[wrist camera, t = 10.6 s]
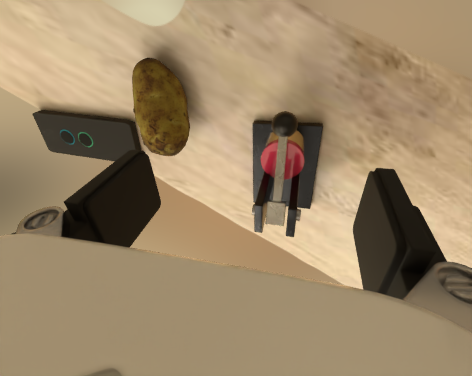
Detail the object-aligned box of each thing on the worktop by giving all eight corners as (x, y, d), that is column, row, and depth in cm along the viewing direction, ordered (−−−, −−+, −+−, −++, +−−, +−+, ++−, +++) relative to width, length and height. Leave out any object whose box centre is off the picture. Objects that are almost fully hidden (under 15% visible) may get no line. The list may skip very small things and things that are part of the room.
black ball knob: (273, 114, 33) (271, 108, 30) (298, 114, 32) (299, 109, 29) (264, 219, 34) (261, 224, 31) (288, 222, 34) (287, 227, 31)
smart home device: (30, 111, 46) (128, 123, 42) (38, 108, 47) (134, 119, 44) (49, 152, 51) (139, 166, 47) (56, 148, 52) (143, 161, 49)
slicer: (254, 120, 39) (231, 165, 28) (322, 123, 36) (327, 172, 26) (254, 198, 47) (237, 256, 36) (310, 204, 45) (309, 267, 34)
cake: (266, 125, 37) (260, 140, 33) (307, 126, 36) (306, 143, 32) (265, 159, 41) (260, 177, 36) (303, 162, 39) (302, 181, 35)
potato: (196, 60, 36) (171, 71, 29) (198, 143, 43) (179, 166, 37) (142, 53, 37) (107, 63, 31) (154, 135, 45) (128, 156, 38)
